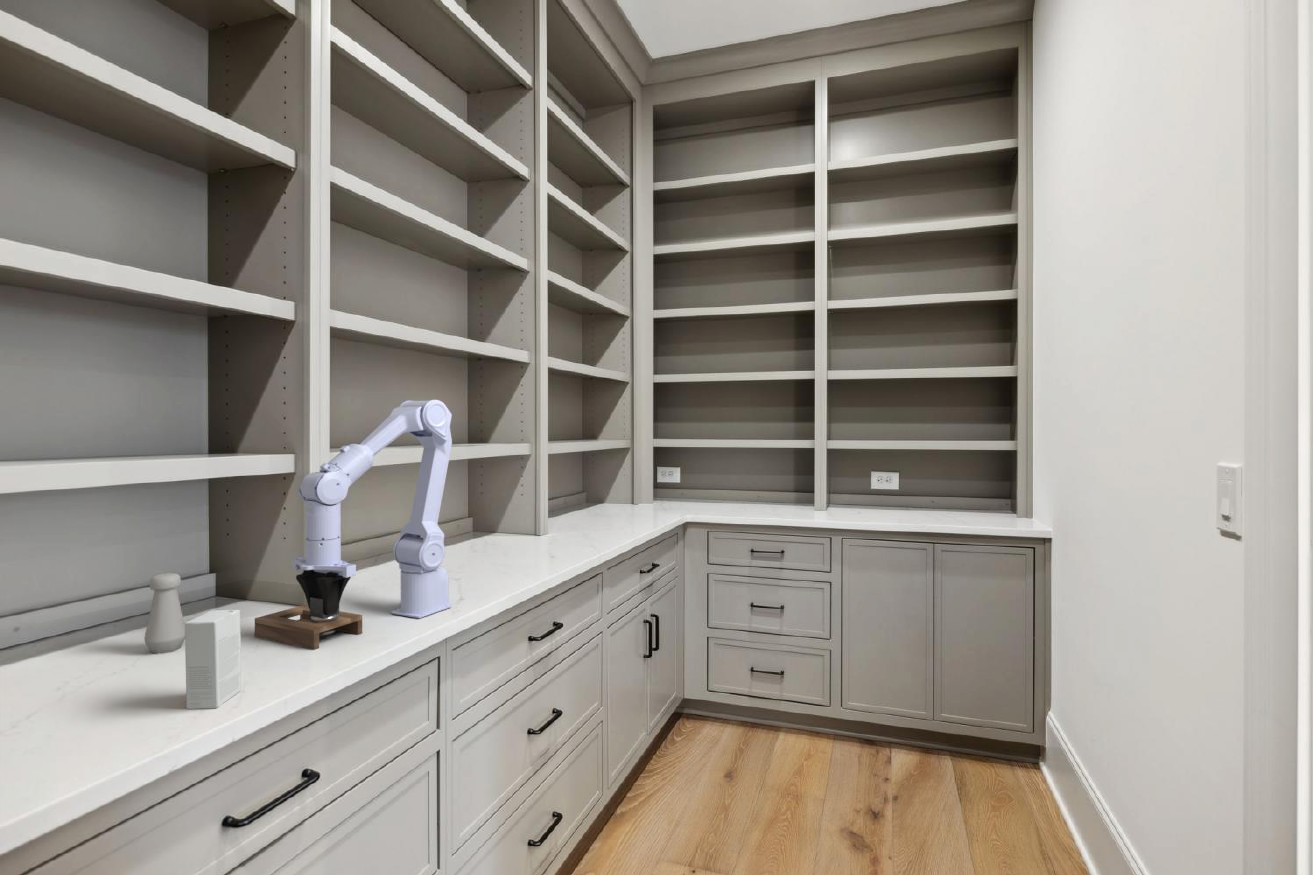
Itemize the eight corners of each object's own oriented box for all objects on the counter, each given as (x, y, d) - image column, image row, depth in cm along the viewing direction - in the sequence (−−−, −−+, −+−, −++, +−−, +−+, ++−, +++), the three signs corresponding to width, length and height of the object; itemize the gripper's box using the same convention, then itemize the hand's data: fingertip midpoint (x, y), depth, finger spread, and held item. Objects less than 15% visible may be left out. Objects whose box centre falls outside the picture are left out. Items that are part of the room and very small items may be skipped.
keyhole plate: (304, 621, 127) (304, 604, 127) (362, 633, 121) (362, 614, 121) (254, 636, 118) (254, 618, 118) (313, 649, 112) (313, 630, 112)
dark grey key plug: (327, 627, 121) (327, 592, 121) (343, 630, 119) (343, 594, 119) (305, 633, 117) (305, 597, 117) (322, 637, 115) (322, 600, 115)
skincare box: (211, 691, 94) (211, 609, 94) (242, 690, 94) (241, 609, 94) (184, 709, 88) (183, 622, 88) (216, 709, 88) (216, 621, 88)
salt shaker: (163, 656, 108) (162, 579, 108) (135, 654, 109) (134, 577, 109) (194, 645, 114) (194, 571, 114) (167, 642, 115) (167, 570, 115)
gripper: (276, 538, 117) (276, 612, 117) (331, 544, 111) (331, 623, 111) (311, 532, 123) (311, 603, 124) (365, 538, 117) (365, 612, 117)
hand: (323, 612), depth 118 cm, fingers closed on dark grey key plug, 3 cm apart
